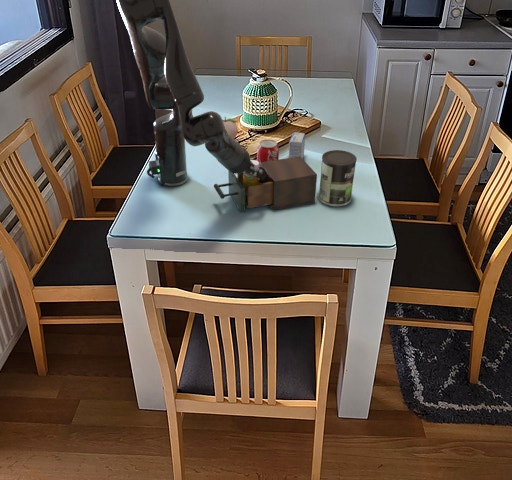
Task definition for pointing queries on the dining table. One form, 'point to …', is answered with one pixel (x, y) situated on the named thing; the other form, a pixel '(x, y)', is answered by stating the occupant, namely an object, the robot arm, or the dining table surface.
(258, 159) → the soda can
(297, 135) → the medicine box
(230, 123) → the decorative fruit
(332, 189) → the coffee can
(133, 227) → the dining table surface
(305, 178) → the cabinet
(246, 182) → the supplement bottle
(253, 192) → the drawer
